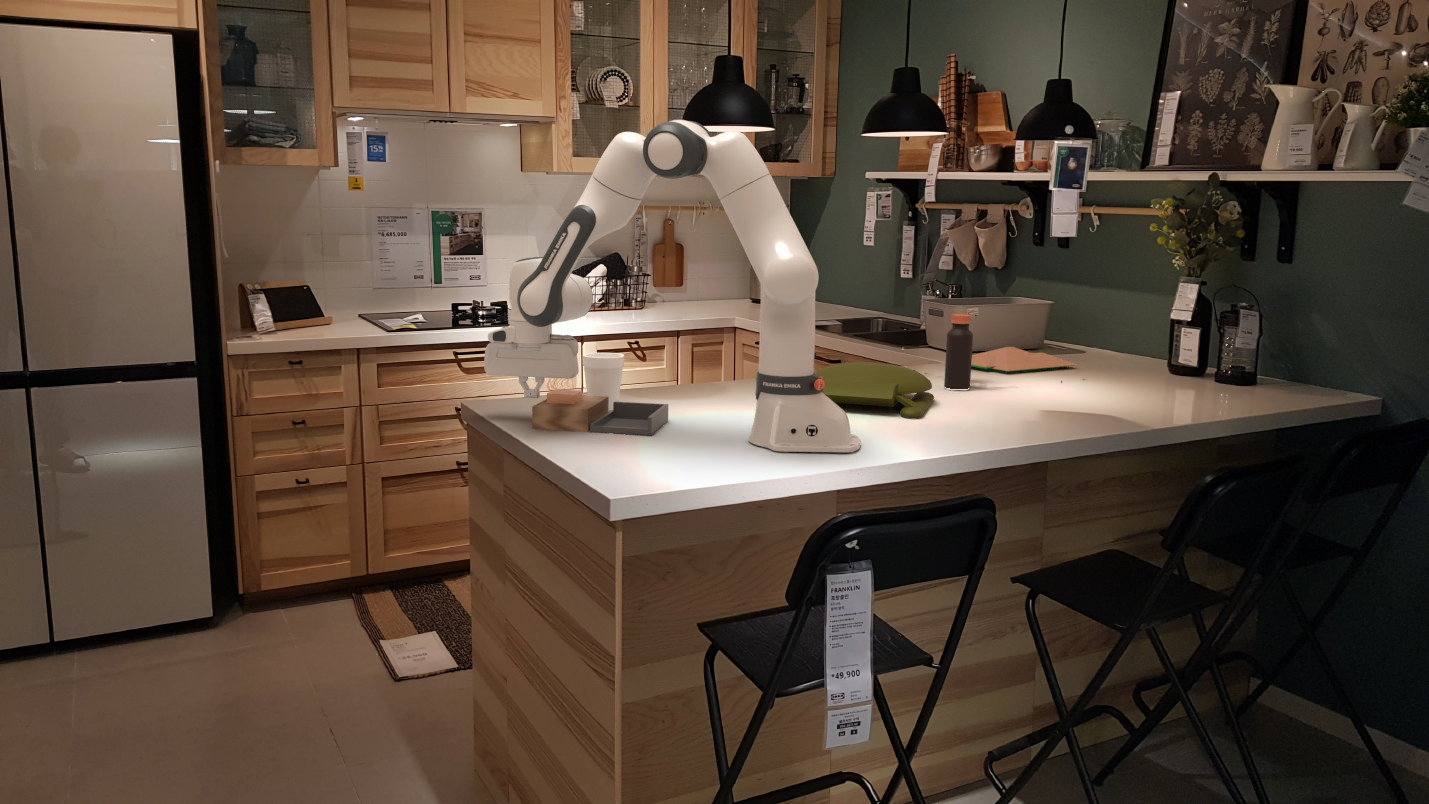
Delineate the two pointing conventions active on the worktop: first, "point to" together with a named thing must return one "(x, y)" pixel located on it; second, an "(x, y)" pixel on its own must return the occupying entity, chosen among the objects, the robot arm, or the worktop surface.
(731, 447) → the worktop surface
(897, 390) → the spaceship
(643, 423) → the box
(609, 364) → the foam cup
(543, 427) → the walnut platform
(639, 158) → the robot arm
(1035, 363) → the tan and green mat
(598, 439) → the worktop surface
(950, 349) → the bottle
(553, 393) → the terracotta tile
